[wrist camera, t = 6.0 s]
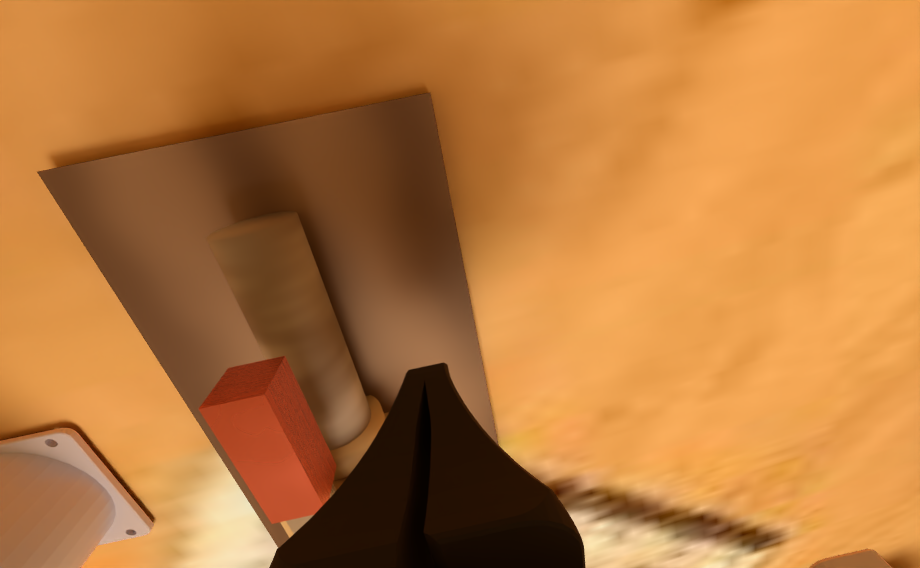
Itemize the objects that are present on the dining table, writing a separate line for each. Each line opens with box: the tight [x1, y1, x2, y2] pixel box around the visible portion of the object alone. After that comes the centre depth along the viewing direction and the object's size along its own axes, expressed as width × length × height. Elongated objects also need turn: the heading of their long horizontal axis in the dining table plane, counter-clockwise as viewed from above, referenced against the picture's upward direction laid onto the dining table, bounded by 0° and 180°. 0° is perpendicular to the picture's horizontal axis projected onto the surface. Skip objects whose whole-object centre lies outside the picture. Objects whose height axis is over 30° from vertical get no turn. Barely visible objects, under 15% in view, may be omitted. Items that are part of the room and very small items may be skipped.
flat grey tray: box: [38, 93, 498, 548], centre depth 19 cm, size 14×34×5 cm, turn 10°
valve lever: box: [199, 356, 337, 534], centre depth 14 cm, size 11×2×2 cm, turn 11°
